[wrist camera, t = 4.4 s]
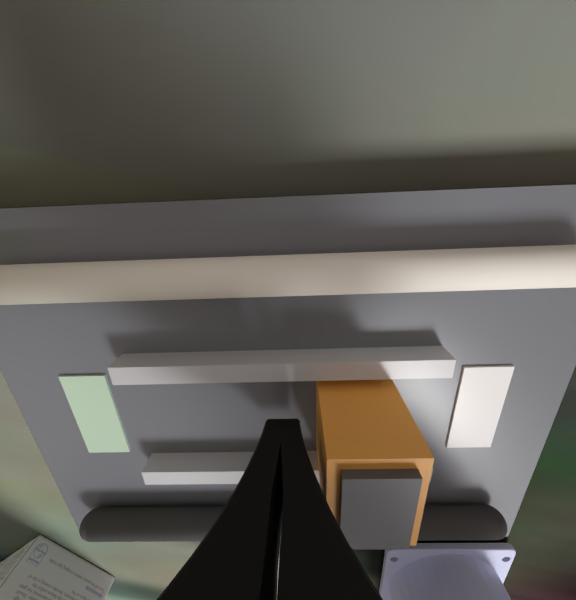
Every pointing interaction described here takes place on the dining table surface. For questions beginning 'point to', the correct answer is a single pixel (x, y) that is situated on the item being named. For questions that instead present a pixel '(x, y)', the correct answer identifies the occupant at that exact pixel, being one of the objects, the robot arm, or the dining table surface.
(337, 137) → the dining table surface
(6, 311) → the panel
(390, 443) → the block
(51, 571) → the light bulb box
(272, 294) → the white rounded rod
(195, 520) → the dark grey rounded rod
